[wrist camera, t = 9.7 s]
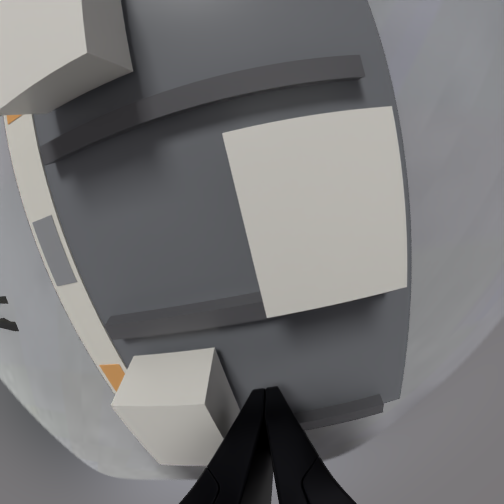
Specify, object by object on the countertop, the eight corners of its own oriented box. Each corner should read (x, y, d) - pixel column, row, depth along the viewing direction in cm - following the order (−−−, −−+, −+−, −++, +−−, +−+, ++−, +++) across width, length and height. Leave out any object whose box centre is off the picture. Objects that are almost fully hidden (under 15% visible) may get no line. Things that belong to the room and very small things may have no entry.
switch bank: (273, -132, 4) (275, -163, 1) (386, 369, 13) (403, 408, 10) (32, -49, 5) (3, -64, 3) (152, 404, 14) (139, 441, 12)
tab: (117, -26, 5) (80, -60, 3) (133, 71, 6) (87, 52, 4) (37, 20, 5) (-11, 5, 3) (46, 113, 7) (-9, 116, 4)
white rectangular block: (352, 113, 7) (392, 106, 4) (370, 245, 8) (406, 287, 6) (233, 133, 7) (222, 133, 5) (264, 268, 8) (266, 318, 6)
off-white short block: (214, 347, 9) (204, 404, 7) (241, 414, 11) (239, 465, 8) (133, 355, 10) (110, 405, 7) (171, 418, 11) (160, 464, 9)
